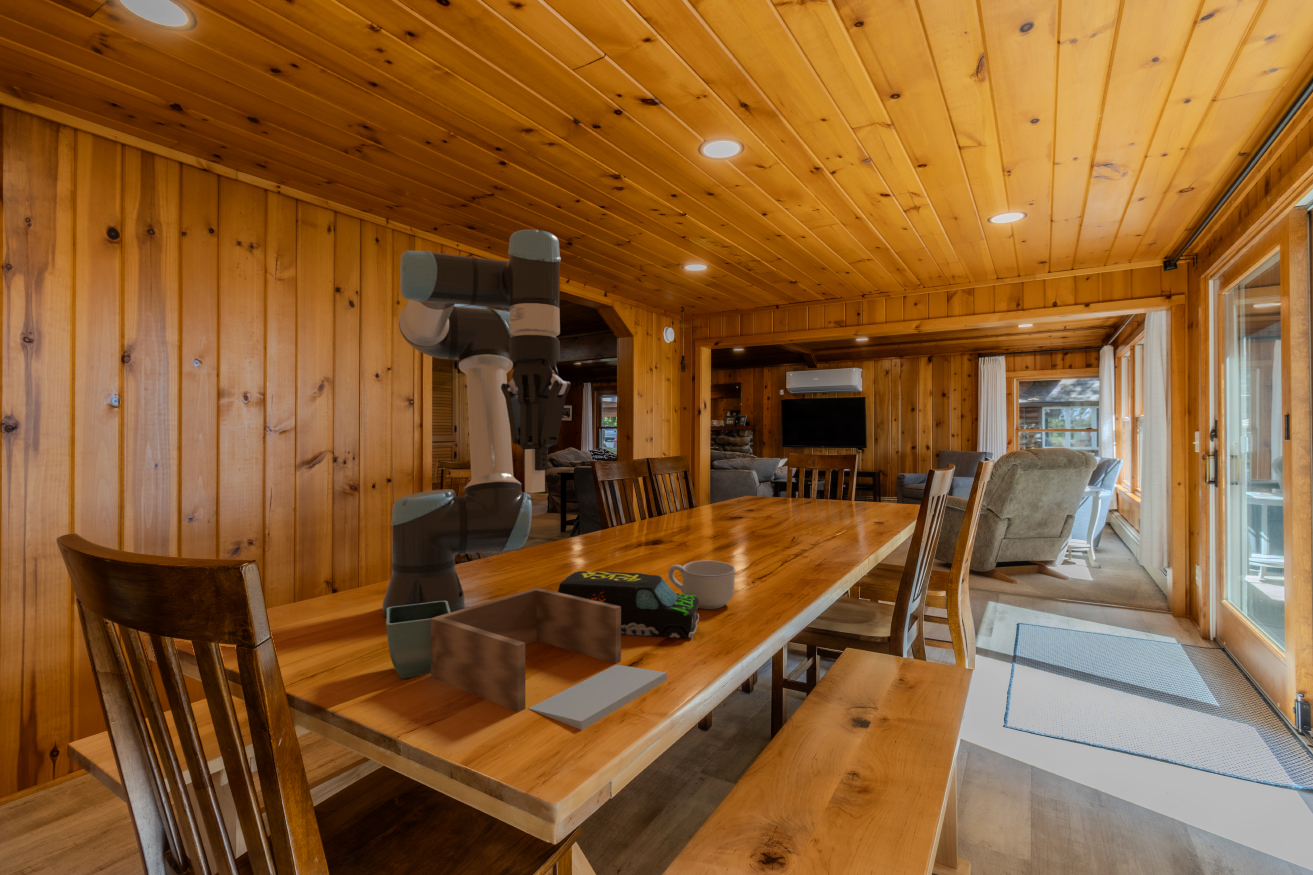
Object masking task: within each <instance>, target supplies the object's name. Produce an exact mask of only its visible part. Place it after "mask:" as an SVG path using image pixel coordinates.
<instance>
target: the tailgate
mask: <svg viewBox="0 0 1313 875" xmlns="http://www.w3.org/2000/svg"><path fill="white" fill-rule="evenodd" d="M667 680H668V676H667V672H665V671H659V670H658V671H657V670H652V669H647V668H642V667H641V668H640V667H634V666H627V665H621V664H618V663H617V664H615V665H614V664H613V665H612V666H610V667H609V668H607V669H605V670H603V671H601V672H599V673H596V674H594V675H593V676H590V677H588V678H587V679H585V680H582V681H580V682H579V683H576V684H574V685H572V686H571V687H568V688H566V689H564V690H562V691H560V692H558V693H557V694H555V695H552V696H550V697H548V698H546V699H544V700H542V701H540V702H539V703H536V704H535V705H532V706H530V707H529V708H528V707H527V709H528V710H530V711H533V712H535V713H537V714H540V715H543V716H545V717H547V718H550V719H553V720H555V721H558V722H560V723H563V724H564V725H565V724H566V725H568V726H571V727H573V728H574V729H577V730H580V731H583V730H586V729H587V728H588V727H591V726H592V725H593V724H595V723H598V722H599V721H601V720H602V719H604V718H605V717H607V716H608V715H610V714H612V713H614V712H615V711H617V710H618V709H621V708H622V707H624V706H625V705H627V704H629V703H631V702H632V701H635V700H636V699H637V698H639V697H641V696H642V695H644V694H646V693H647V692H650V691H651V690H653V689H654V688H655V687H656V688H657V687H658V686H660V685H661V684H663V683H665V682H666V681H667Z"/></svg>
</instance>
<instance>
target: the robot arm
mask: <svg viewBox="0 0 1313 875" xmlns="http://www.w3.org/2000/svg"><path fill="white" fill-rule="evenodd" d="M508 243H509V245H508V250H507V254H508V261H507V260H498V259H490V258H482V257H474V256H473V257H471V256H463V255H457V254H449V253H442V252H432V251H429V250H423V251H422V250H404V252H402V254H401V255H400V265H399V266H400V270H399V277H400V278H399V280H400V282H399V285H400V289H399V290H400V294H401V296H402V297H403V299H406V300H408V302H407V304H406V305H405V306H404V307H403V308H402V310H401V311H400V314H399V317H398V327H399V331H400V334H401V336H402V338H403V339H404V340H405V342H406V343H408V345H409V346H411V347H412V348H413V349H415V350H416V351H419V352H420V353H422V354H424V355H427V356H429V357H433V358H436V359H440V360H441V359H442V360H457V361H458V369H459V370H460V372H462V373H463V374H465V375H466V392H467V393H466V394H467V396H466V397H467V413H468V415H467V416H468V432H469V433H468V434H469V452H470V453H469V454H470V455H469V456H470V473H471V474H470V475H471V478H470V481H469V482H468V483H467V484H466V485H465V486H464V489H463V490H464V495H458V496H457V494H456V492H455V490H454V489H451V488H450V489H449V488H446V489H434V490H433V489H432V490H426V491H420V492H415V493H410V494H407V495H404V496H401V497H399V498H398V499H396V500H395V501H394V503H393V505H392V510H391V512H392V514H391V521H390V525H391V526H392V539H391V540H392V541H391V543H392V544H391V548H392V549H391V550H392V552H391V553H392V554H391V558H392V560H391V564H392V566H391V567H392V569H391V570H392V571H391V576H390V579H389V582H388V586H387V589H386V591H385V594H384V595H385V596H384V597H383V601H382V616H383V617H384V618H386V617H387V614H386V609H387V608H388V607H394V606H403V605H411V604H420V603H427V602H435V601H447V602H448V605H449V609H450V612H454V611H458V610H461V609H465V604H466V603H465V592H464V590H463V587H462V584H461V581H460V578H459V576H458V573H457V570H456V556H457V555H467V554H475V553H487V552H490V553H491V552H502V553H503V552H505V551H509V550H518V549H521V548H522V547H524V545H525V544H526V542H527V540H528V537H529V534H530V530H531V524H532V518H533V517H532V516H533V513H532V512H533V503H532V498H531V497H532V496H531V494H535V493H544V492H546V471H547V469H548V449H549V448H550V447H552V446H556V445H558V443H559V438H560V432H561V427H562V422H563V420H562V419H563V415H564V409H565V404H566V403H565V402H566V398H567V395H568V393H569V391H570V389H571V382H570V381H567V380H563V379H562V378H561V377H560V376H559V371H558V367H557V364H558V363H559V362H560V360H561V354H560V353H561V350H560V349H561V342H560V340H559V338H558V336H559V335H560V334H561V323H560V322H561V320H560V319H561V318H560V317H561V316H560V315H561V313H560V308H561V307H560V303H561V301H560V296H561V294H560V292H561V291H560V287H561V286H560V285H561V284H560V283H561V282H560V280H561V274H560V272H561V271H560V269H561V266H560V265H561V262H562V261H561V260H562V258H561V256H560V255H561V253H560V241H559V239H558V237H557V236H556V235H554V234H553V233H552V232H549V231H545V230H539V229H528V228H527V229H521V230H517V231H513V233H511V235H510V236H509V242H508ZM455 305H467V306H478V307H490V308H478V307H467V306H455ZM495 308H501V309H500V310H499V309H495ZM512 369H513V370H512ZM511 370H512V374H511V377H512V378H511V379H510V381H509V382H508V379H507V378H508V375H507V374H508V373H509V372H510V371H511ZM512 444H514V445H517V446H519V447H520V448H521V450H522V468H523V470H524V492H523V490H522V482H520V481H519V480H518V479H516V477H514V465H513V453H512V452H513V451H512V450H513V449H512Z"/></svg>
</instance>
